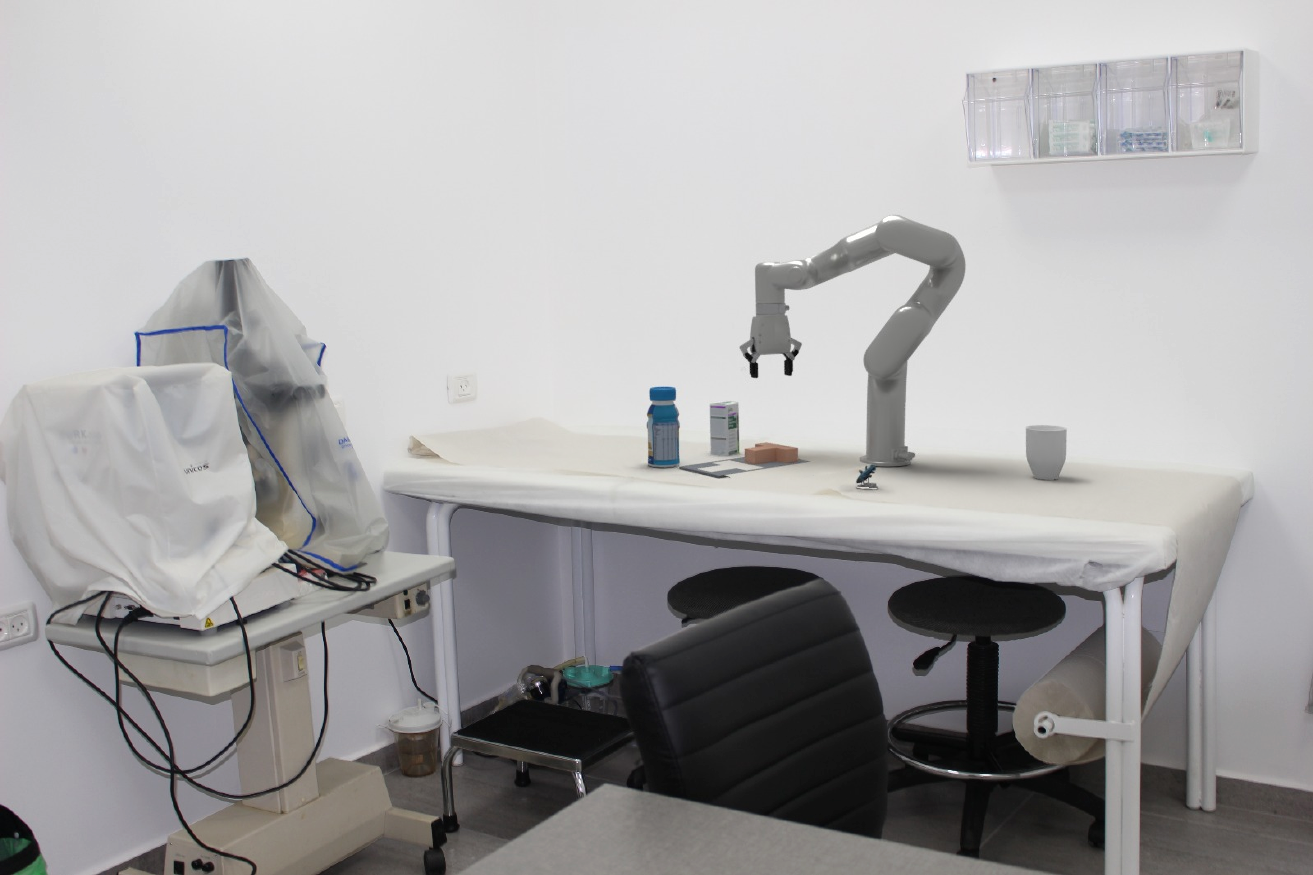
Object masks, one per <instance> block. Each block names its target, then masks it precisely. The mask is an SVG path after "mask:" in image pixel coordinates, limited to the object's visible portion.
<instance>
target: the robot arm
mask: <svg viewBox="0 0 1313 875" xmlns="http://www.w3.org/2000/svg"><path fill="white" fill-rule="evenodd" d="M962 249H963V248H962V247H961V245H960V243H959V241H958V239H957V238H956V237H955V236H953V235H952V234H951V233H949V232H947V231H945V230H940V229H938V228H934V227H932V226H929V225H926V224H923V223H921V222H917V221H914V220H912V219H910V218H907V217H905V216H902V215H900V214H891V215H887V216H885V217H883V218H882V219H881V220H880V221H878V222H877V223H875V224H872V225H871V226H869V227H865V228H864V229H862V230H859V231H856V232H854V233H851V234H849V235H846V236H844V237H843V238H841V239H840V240H839V241H838V242H837V243H835V244H834V245H833V246H831V247H829V248H827V249H825V250H824V251H822V252H818V253H817V254H814V255H811V256H809V257H808V258H805V259H795V260H790V261H789V260H788V261H782V262H780V261H779V262H778V261H768V262H765V261H763V262H758V263H757V264H756V265H755V267H754V282H755V284H754V288H755V293H754V294H755V315H754V316H752V318H751V325H750V334H749V340H747V341H745V342H744V343H743V344H741V345H739V351H740V352H741V353H742V356H743V357H744V358H745V360H747V362H748V364H749V375H750V378H751V379H752V378H753V379H758V378H759V363H758V362H757V361H758V360H759V358H760V356H767V355H768V356H769V355H770V356H771V355H782V356H783V357H784V358H785V359H784V360H783V364H784V365H783V368H784V369H783V371H784V373H783V374H784V376H788V377H792V376H793V372H794V363H793V362H794V361H795V358H796V357H797V355H799V353H800V350H801V348H802V346H803V344H802V343H803V342H800V341H799V340H797V339H795V338H793V337H792V336H791V328H790V324H789V318H788V315H786V313H787V311H789V310H790V306H789V305H787V304H786V302H785V300H786V297H785V296H786V293H785V290H793V291H802V290H804V291H805V290H808V289H811V288H813V287H816V286H818V285H821V284H823V283H826V282H828V281H830V280H833V279H834V278H837V277H839V276H842V275H844V274H848V273H852V272H854V271H856V270H858V269H861V268H862V267H865V266H867V265H869V264H872V263H875V262H876V261H879V260H881V259H884V258H886V257H889V256H892V255H894V254H896V255H899V256H903V257H905V258H907V259H910V260H913V261H917V262H918V263H922V264H925V265H927V266H929V270H928V273H927V274H926V276H925V277H924V279H923V280H922V281H921V282H920V284H919V286H918V287H917V288H916V290H915V291H914V293H913V294H912V295H911V296H910V298H909V299H908V300H907V302H906V303H904V305H901V306H899V307H898V308H897V309H896V310H895V311H894V312H893V313H892V315H891V316H889V319H888V320H887V321H886V322H885V323H884V325H883V326H882V328H881V329H880V331H879V332H878V333H877V334H876V336H875V337H874V339H873V340H872V342H871V343H870V344H869V345H868V347H867V348H866V350H865V351H864V354H863V366H864V369H865V371H866V372H867V386H866V387H867V390H866V391H867V393H866V438H865V439H866V442H865V444H866V445H865V449H866V451H865V455H861V456H860V457H859V462H861V463H863V464H869V465H872V464H873V465H876V467H903V466H908V465H910V464H911V461H912V460H913V459H914V458H915V457H916V453H915V452H914V451H909V447H908V446H907V445H905V443H906V442H905V440H906V439H905V438H906V437H905V436H906V403H907V402H906V400H907V378H908V377H907V375H908V361H909V360H910V358H911V357H912V355H913V354H914V353H915V352H916V350H917V349H918V347H920V345H921V344H922V343H923V341H924V340H925V339H926V337H927V336H929V334H930V333H931V331H932V329H933V327H934V326H935V324H936V322H937V321H938V320H939V319H940V317H941V316H942V314H943V313H944V312H945V311H946V309H947V308H948V306H949V305H950V303H951V302H952V301H953V299H954V298H955V296H956V295H957V293H958V291H959V290H960V288H961V287H962V284H963V281H964V279H965V274H966V266H967V264H966V257H965V254H964V251H963V250H962ZM792 345H793V349H792ZM748 348H749V351H748ZM749 352H750V353H749Z"/></svg>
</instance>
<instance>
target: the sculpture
mask: <svg viewBox="0 0 1313 875" xmlns="http://www.w3.org/2000/svg"><path fill="white" fill-rule="evenodd" d="M876 467H877V466H876V465H873V464H869V466H868V465H865V466H864V470H860V469H859V470H858V472H859V473H860V474H859V476H858V477H857V479H856V480H855V483H856V484H857V486H856V488H857V487H869V488H878V489H879V486H878V485H877V482H870V478H872V477H873V475H872V474H875V473H876V472H875V471H876V470H877V468H876ZM865 481H866V482H865Z"/></svg>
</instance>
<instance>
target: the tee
mask: <svg viewBox="0 0 1313 875" xmlns="http://www.w3.org/2000/svg"><path fill="white" fill-rule="evenodd" d="M744 457H745V462H746V463H751V464H760V463H767V462H773V461H778V462H783V463H791V462H797V461H798V459H799V447H795V446H790V445H783V444H778V443H773V442H767V441H766V442H760V443H758V442H757V443H754V447H747V448H744Z"/></svg>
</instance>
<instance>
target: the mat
mask: <svg viewBox="0 0 1313 875" xmlns="http://www.w3.org/2000/svg"><path fill="white" fill-rule="evenodd" d="M727 461H731V462H735V463H736V462H737V463H741V464H745V465H751V466H755V467H759V468H754V469H753V468H752V469H742V468H737V467H735V468H728V469H723V470H715V471H708V470H703V469H705V468H711V467H717V466H720V463H719V462H727ZM810 462H811V460H805V459H800V458H798V461H797V462H791V463H783V462H778V461H773V462H767V463H760V464H751V463H746V462H745V456H742V457H735V458H729V459H728V458H727V459H722V460H721V459H720V460H715V461H707V462H706V461H705V462H701V463H693V464H688V465H681V466H679V465H678V470H682V471H685V472H687V471H688V472H689V473H694V472H695V473H694V474H699V475H703V476H708V477H713V478H715V479H724V478H729V477H730V475H734V474H741V473H746V472H752V471H753V472H754V471H759V470H766V469H771V468H778V467H784V466H791V465H797V464H803V463H810ZM718 463H719V464H718ZM702 468H703V469H702Z"/></svg>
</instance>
